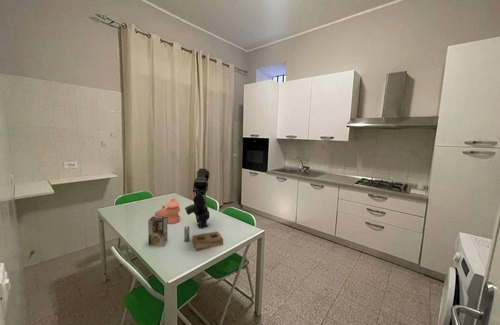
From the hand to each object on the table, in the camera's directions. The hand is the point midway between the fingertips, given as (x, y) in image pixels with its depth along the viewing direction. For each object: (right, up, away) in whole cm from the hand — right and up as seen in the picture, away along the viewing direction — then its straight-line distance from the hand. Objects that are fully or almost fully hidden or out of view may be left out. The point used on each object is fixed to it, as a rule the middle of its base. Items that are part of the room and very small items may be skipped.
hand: (199, 225), depth 121 cm
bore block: (+4, -12, +2) cm, 13 cm away
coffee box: (-25, -11, -1) cm, 27 cm away
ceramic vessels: (-36, -7, +39) cm, 54 cm away
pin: (-9, -11, +4) cm, 15 cm away
